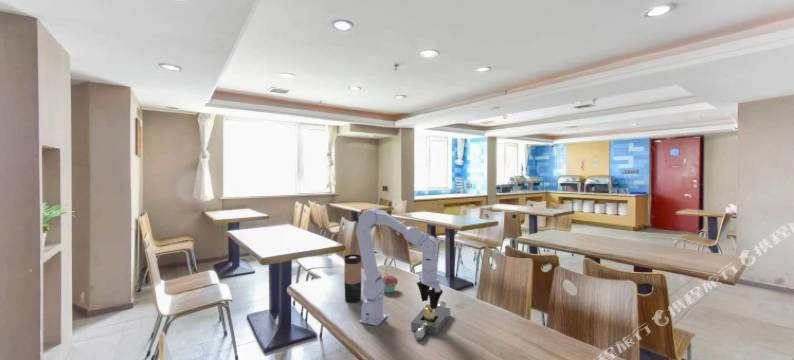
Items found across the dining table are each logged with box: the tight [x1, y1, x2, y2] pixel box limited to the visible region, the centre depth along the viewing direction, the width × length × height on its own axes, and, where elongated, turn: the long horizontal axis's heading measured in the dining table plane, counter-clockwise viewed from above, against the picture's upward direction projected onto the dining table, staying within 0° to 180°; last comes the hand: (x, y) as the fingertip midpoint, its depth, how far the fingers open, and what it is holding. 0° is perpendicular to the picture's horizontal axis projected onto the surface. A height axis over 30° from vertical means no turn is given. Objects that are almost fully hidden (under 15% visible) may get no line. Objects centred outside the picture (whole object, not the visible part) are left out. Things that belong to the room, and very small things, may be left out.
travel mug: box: [343, 253, 362, 304], centre depth 153 cm, size 8×8×20 cm
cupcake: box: [382, 268, 398, 294], centre depth 165 cm, size 9×8×12 cm
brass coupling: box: [423, 305, 435, 323], centre depth 128 cm, size 4×4×7 cm
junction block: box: [410, 300, 451, 342], centre depth 131 cm, size 30×10×3 cm, turn 156°
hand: (429, 304), depth 128 cm, fingers open, 7 cm apart
